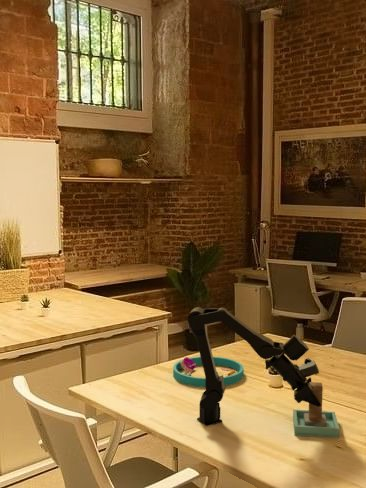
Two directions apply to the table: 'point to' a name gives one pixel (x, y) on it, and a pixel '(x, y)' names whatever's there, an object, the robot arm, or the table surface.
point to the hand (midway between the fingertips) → (319, 403)
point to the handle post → (315, 409)
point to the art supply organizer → (187, 379)
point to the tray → (315, 431)
